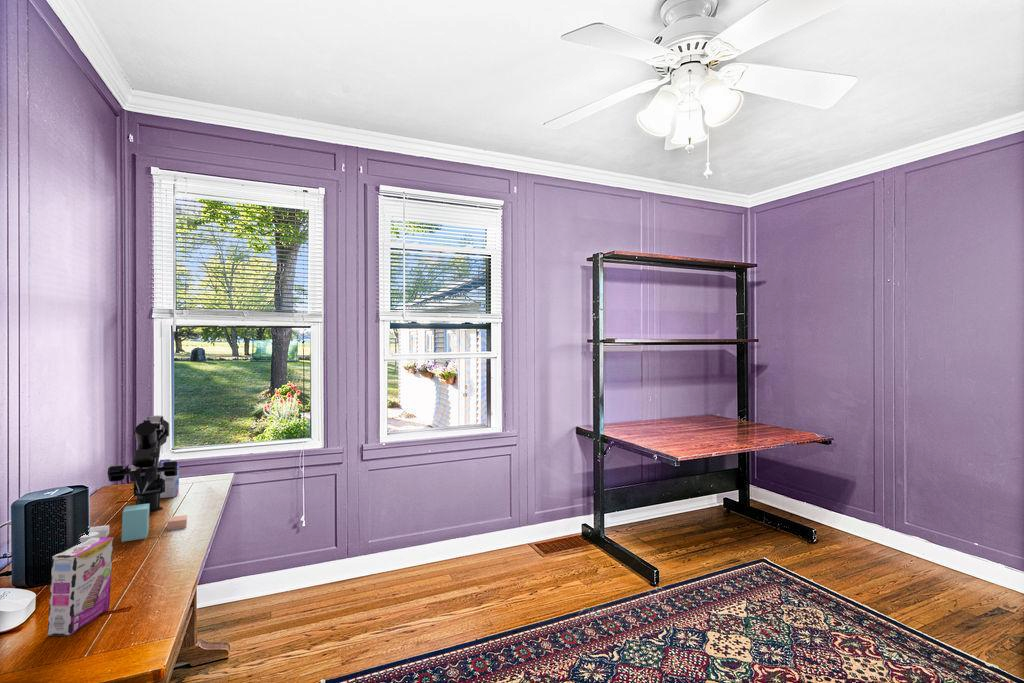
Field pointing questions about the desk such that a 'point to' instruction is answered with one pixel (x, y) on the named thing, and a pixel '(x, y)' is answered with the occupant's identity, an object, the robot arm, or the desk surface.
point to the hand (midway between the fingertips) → (141, 493)
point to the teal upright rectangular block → (135, 522)
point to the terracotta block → (177, 522)
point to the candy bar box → (79, 585)
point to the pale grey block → (101, 530)
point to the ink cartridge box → (170, 483)
